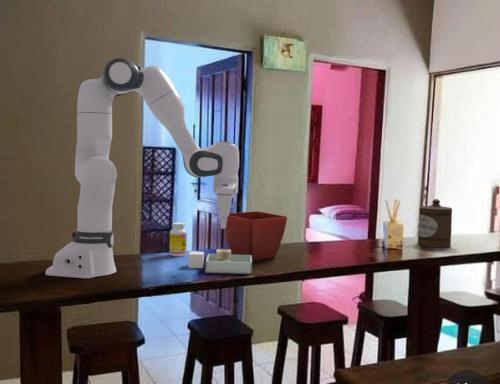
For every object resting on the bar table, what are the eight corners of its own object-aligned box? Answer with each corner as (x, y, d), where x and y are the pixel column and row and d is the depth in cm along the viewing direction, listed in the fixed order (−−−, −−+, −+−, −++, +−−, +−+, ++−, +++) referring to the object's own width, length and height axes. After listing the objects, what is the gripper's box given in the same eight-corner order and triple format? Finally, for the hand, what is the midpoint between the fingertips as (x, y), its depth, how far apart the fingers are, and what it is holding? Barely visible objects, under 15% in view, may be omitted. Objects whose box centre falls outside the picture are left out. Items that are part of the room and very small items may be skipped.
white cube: (188, 268, 188) (188, 254, 188) (189, 264, 193) (190, 251, 193) (202, 268, 188) (202, 254, 188) (203, 265, 193) (203, 251, 193)
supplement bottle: (183, 257, 206) (183, 224, 205) (167, 256, 207) (167, 223, 206) (188, 254, 212) (189, 222, 211) (172, 253, 214) (173, 221, 213)
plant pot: (250, 264, 198) (251, 219, 196) (219, 255, 212) (220, 213, 211) (287, 258, 210) (288, 216, 209) (256, 250, 225) (257, 211, 223)
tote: (205, 272, 181) (205, 261, 181) (207, 264, 194) (208, 253, 194) (251, 274, 182) (252, 262, 181) (251, 265, 195) (251, 255, 194)
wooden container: (411, 242, 257) (413, 197, 255) (437, 242, 261) (439, 197, 260) (430, 248, 243) (433, 200, 241) (457, 247, 247) (460, 200, 245)
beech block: (215, 268, 185) (216, 251, 185) (216, 265, 190) (217, 249, 190) (230, 269, 186) (230, 252, 185) (230, 265, 190) (230, 249, 190)
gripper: (218, 185, 196) (216, 222, 197) (214, 189, 176) (213, 230, 177) (235, 186, 196) (233, 223, 197) (233, 189, 176) (231, 231, 177)
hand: (223, 226), depth 187 cm, fingers open, 8 cm apart
